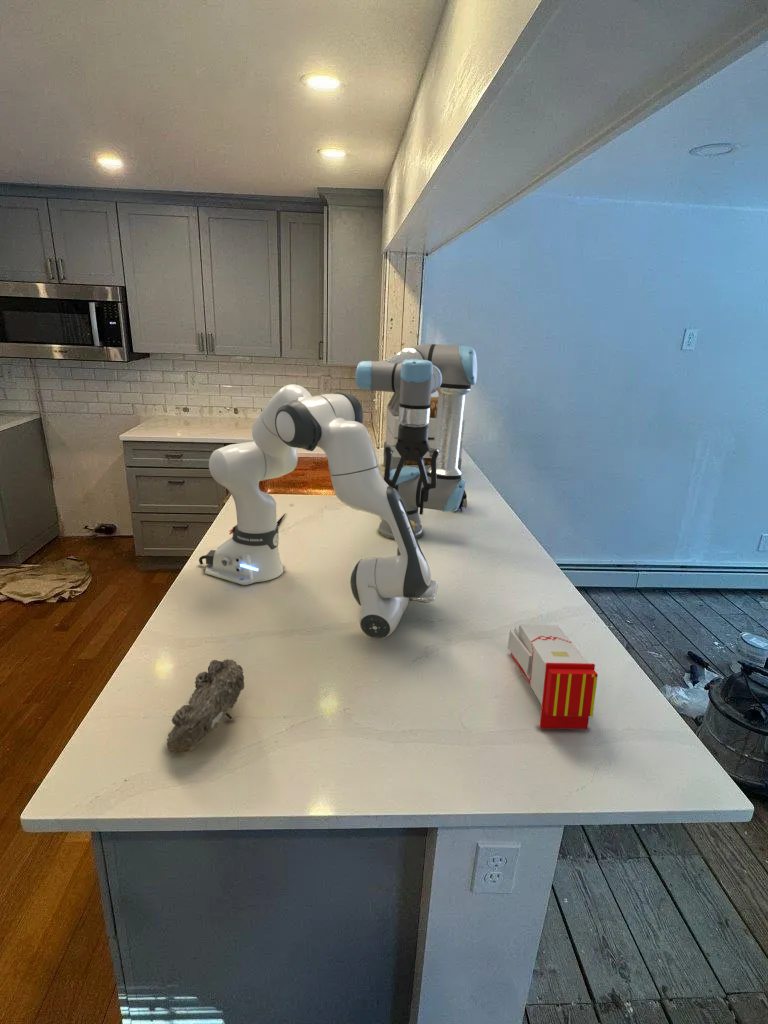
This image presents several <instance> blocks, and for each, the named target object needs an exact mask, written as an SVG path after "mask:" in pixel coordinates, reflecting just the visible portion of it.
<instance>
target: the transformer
mask: <svg viewBox="0 0 768 1024" xmlns="http://www.w3.org/2000/svg"><path fill="white" fill-rule="evenodd" d="M399 406H400V393H396V392H393V394H392V395H391V398H390V400H389V402H388V404H387V405H386V413H385V414H386V415H385V423H386V428H385V438H384V442H383V466H384V467H385V465H386V457H387V456H386V452H385V448H386V446H387V445H390V446H392V445H396V443H397V441H398V425H399V424H401V423H400V422H399ZM437 406H438V396H431V398H430V414H429V423H428V424H426V425H427V426H428V427H429V428H428V445H429V447H430V448H433V449H434V439H435V428H436V417H437ZM464 429H465V419H464V418H463V420H462V430H461V439H460V449H459V459H458V469H459V470H460V471H461V472H462V461H463V460H462V453H463V442H464V441H463V440H462V439H463V438H464V431H465V430H464ZM400 459H401V456H400V454H399V453H398V451H397V450H396V449H395V452H394V453H393V454H392V463H391V470H393V469H396V468H397V466H398V464H399V461H400ZM431 459H432V457H430V456H429V452H427V453H426V454H425V455H424V456H423V462H424V466H425V467H431ZM405 466H406V467H418V465H417V462H414V461H405V462H404V464H403V467H405Z"/></svg>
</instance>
